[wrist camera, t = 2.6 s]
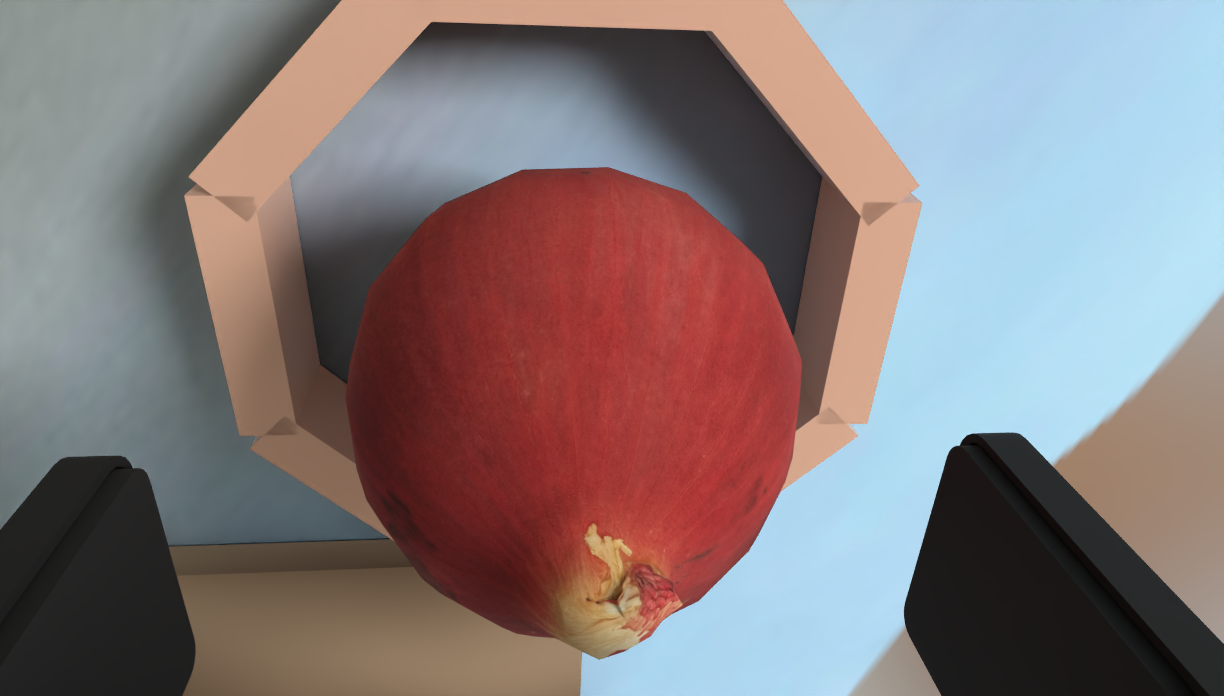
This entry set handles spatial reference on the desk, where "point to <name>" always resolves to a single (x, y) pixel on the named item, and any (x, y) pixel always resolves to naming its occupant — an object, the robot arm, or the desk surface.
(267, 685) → the board
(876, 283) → the ring holder
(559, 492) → the onion
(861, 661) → the desk surface
